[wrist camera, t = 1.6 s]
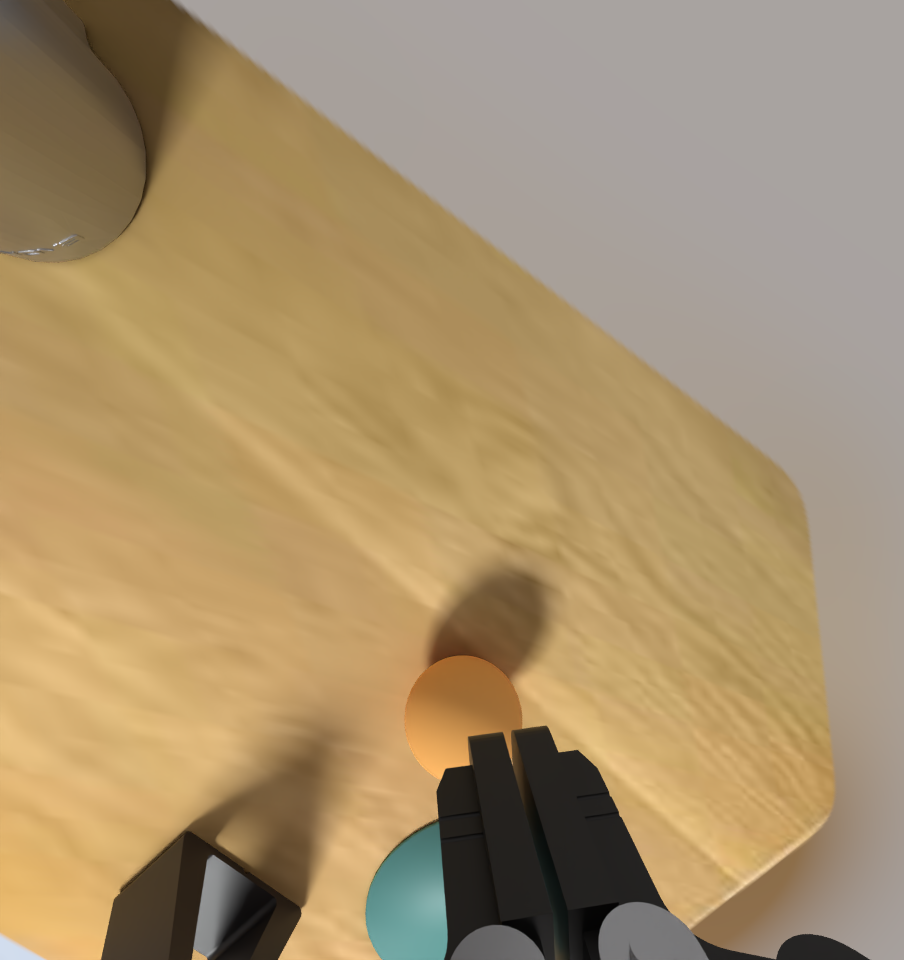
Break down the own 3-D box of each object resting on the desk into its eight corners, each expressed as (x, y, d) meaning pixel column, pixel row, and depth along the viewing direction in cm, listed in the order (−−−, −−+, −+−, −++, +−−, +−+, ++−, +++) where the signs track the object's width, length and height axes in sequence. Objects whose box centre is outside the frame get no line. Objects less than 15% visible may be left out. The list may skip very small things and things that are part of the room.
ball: (399, 640, 28) (398, 712, 22) (506, 628, 29) (532, 694, 23) (409, 734, 29) (411, 824, 24) (511, 721, 30) (538, 806, 24)
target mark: (352, 830, 30) (352, 833, 30) (580, 796, 31) (581, 799, 31) (378, 1004, 33) (378, 1008, 33) (585, 968, 35) (586, 972, 34)
